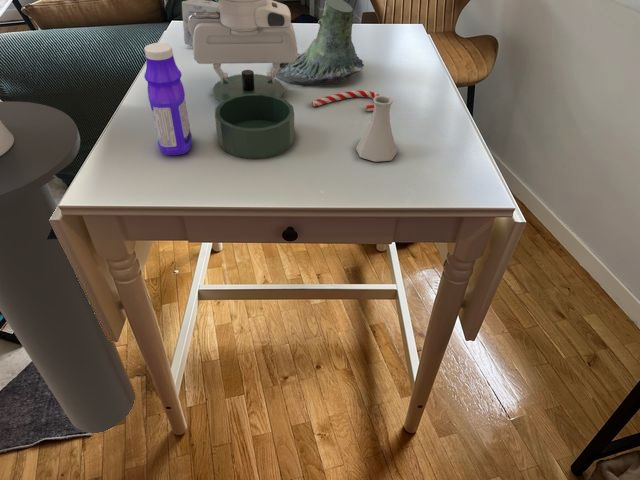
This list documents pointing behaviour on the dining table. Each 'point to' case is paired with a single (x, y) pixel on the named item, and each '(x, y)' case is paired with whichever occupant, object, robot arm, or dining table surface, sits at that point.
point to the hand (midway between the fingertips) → (248, 82)
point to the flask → (378, 133)
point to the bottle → (167, 100)
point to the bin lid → (247, 86)
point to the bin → (255, 125)
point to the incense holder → (189, 7)
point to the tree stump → (326, 50)
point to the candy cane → (346, 95)
